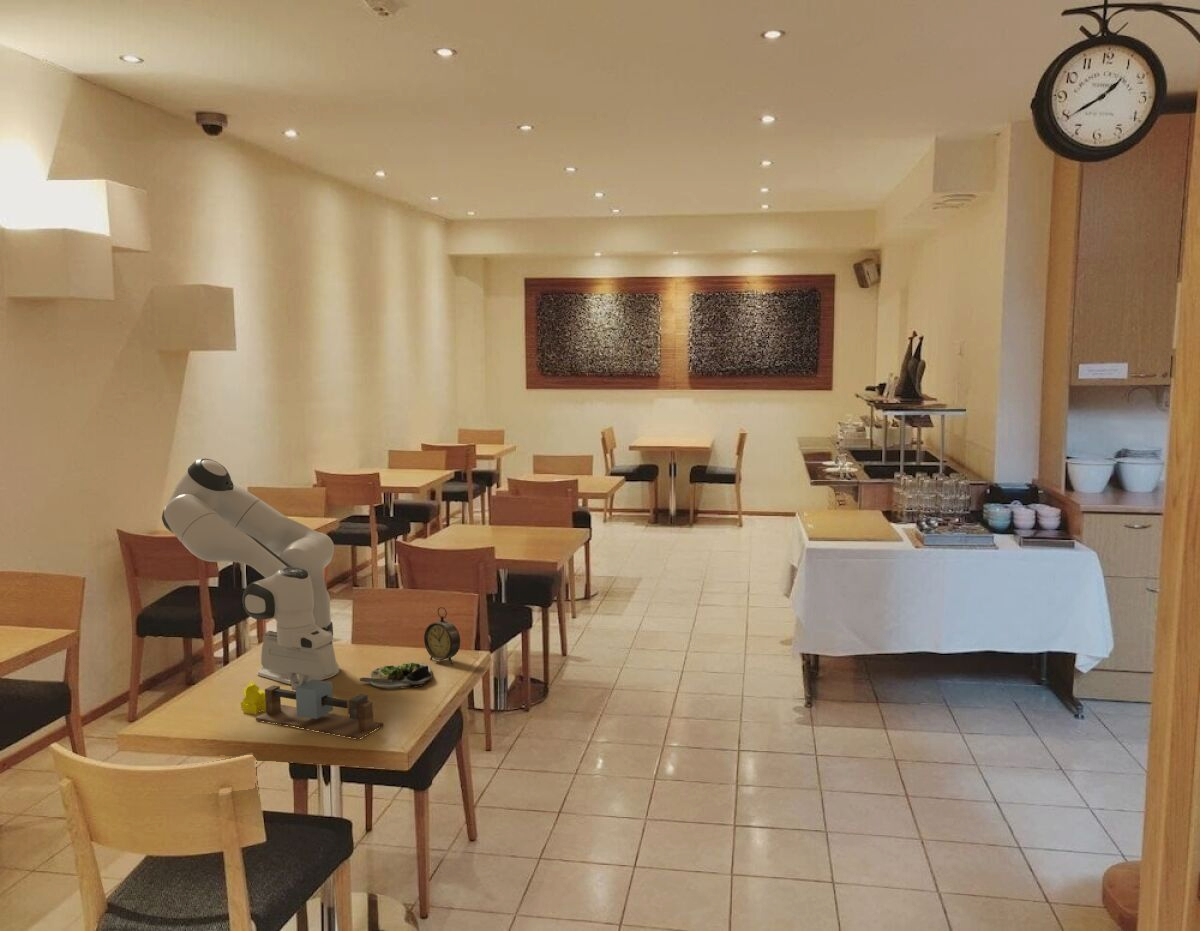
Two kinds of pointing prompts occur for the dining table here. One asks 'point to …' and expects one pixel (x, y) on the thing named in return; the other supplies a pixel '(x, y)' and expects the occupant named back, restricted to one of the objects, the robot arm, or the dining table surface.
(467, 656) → the dining table surface
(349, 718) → the rail rig
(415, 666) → the salad plate
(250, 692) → the crumpled paper
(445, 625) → the alarm clock
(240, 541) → the robot arm
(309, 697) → the sleeve
